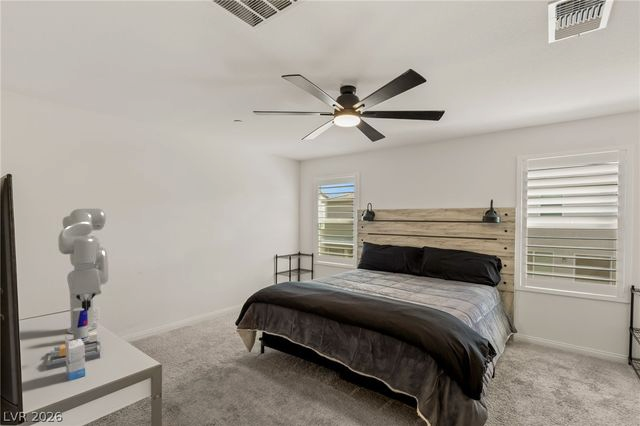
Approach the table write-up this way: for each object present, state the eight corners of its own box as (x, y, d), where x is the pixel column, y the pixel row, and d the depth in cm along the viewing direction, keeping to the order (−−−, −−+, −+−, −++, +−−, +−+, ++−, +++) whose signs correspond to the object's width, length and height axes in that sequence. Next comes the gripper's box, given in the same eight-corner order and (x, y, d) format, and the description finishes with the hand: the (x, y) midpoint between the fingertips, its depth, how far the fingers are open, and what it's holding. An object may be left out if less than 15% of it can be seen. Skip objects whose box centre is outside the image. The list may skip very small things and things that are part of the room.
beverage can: (80, 342, 149) (79, 310, 149) (70, 341, 150) (69, 310, 150) (91, 337, 155) (90, 307, 154) (81, 337, 156) (80, 306, 156)
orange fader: (61, 355, 130) (60, 345, 130) (69, 353, 132) (69, 343, 132) (60, 359, 127) (59, 349, 127) (68, 357, 128) (68, 347, 128)
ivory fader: (89, 341, 144) (89, 332, 144) (97, 340, 146) (96, 331, 145) (89, 344, 140) (89, 335, 140) (97, 343, 142) (96, 334, 142)
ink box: (85, 376, 117) (84, 336, 117) (69, 381, 114) (67, 340, 114) (82, 368, 123) (81, 330, 123) (65, 373, 120) (64, 334, 120)
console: (52, 352, 139) (52, 345, 139) (100, 342, 148) (99, 336, 148) (46, 370, 122) (46, 362, 122) (100, 358, 132) (99, 350, 132)
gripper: (106, 263, 142) (107, 304, 142) (63, 267, 133) (64, 310, 134) (106, 265, 136) (107, 308, 136) (61, 270, 127) (63, 315, 127)
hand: (86, 309), depth 135 cm, fingers closed
